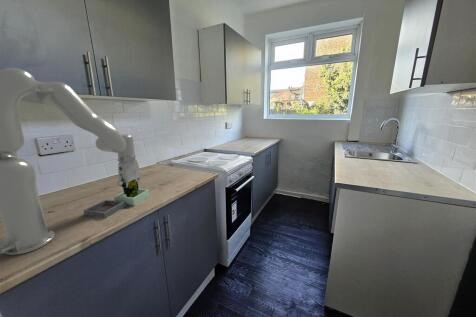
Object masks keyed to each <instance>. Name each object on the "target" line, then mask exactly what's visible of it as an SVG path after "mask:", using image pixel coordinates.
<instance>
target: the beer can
mask: <svg viewBox="0 0 476 317" xmlns="http://www.w3.org/2000/svg"><path fill="white" fill-rule="evenodd" d="M125 185H126V183H125ZM128 187H129V189H130V194H129V195H126V197H131V198H134V197H135V196H137V195H138V193H137V185H136V179H135V180H133V181H131V182H129V183H128Z"/></svg>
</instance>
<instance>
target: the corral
mask: <svg viewBox="0 0 476 317" xmlns="http://www.w3.org/2000/svg"><path fill="white" fill-rule="evenodd" d="M105 206H112V207H111V208H109V209H107V210H105V211H98V210H99V209H102V208H103V207H105ZM125 207H126V205H125V202H122V201H115V199H113V200H111V199H103V200H102V201H100V202H97V203H95V204H93V205H92V206H90V207H89V206H88V207H87V208H85V209H83V214H84V216H87V217H93V218H94V217H95V218H102V219H106V218H108V217H110V216H111V215H113V214H115V213H117V212H119V211H121V209H124V208H125Z"/></svg>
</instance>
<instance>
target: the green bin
mask: <svg viewBox="0 0 476 317" xmlns="http://www.w3.org/2000/svg"><path fill="white" fill-rule="evenodd" d="M138 189H139V190H137V193H138V195H137V196H135V197H134V198H131V197H126V194H124V191H122V192H120V193H118V194H116V195H114V196H113V200H114V201H122V202H125V206H133V207H135V206H136V205H138V204H140V203H141V202H143V201H145V200H147V199H148V198H150V196H151V195H150V190H149V189H145V188H144V189H143V188H138Z"/></svg>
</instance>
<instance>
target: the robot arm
mask: <svg viewBox="0 0 476 317" xmlns="http://www.w3.org/2000/svg"><path fill="white" fill-rule="evenodd" d="M22 101H23V102H28V103H32V104H33V103H34V104H38V105H39V104H40V105H44V106H55V108H57V109H58V110H59V111H60V112H61V113H62V114H63V115H64V116H65V117H66V118H67V119H68V120H69V121H70V122H72V123H73V124H74V126H76V127H79V129H82V130H85V131H87V132H89V133H91V134H93V135H95V136H96V137H98V138H96V140H95V147H96V148H97V149H98V150H100V151H102V152H106V153H108V152H109V153H116V154H117V158H118V159H117V162H118V164H117V172H118V180H117V184H116V185H119V186H120V187H121V188H122V189H123V192H124V194H126V195H129V194H130V189H129V187H128V183H129V182H131V181H133V180H135V179H136V185H137V190H139V189H140V188H139V182H140V181H139V180H140V178H141V176H142V174H141V170H140V166H139V162H138V160H137V159H136V152H135V144H134V137H133V135H132V134H121V133H120V132H119V131H118V130H117V129H116V128H115V127H114V126H113V125H112V124H110V123H109V122H107V121H106V120H105V119H103V118H102V117H101V116H99V115H98V114H96V113H95V111H93V110H92V109H91V108H90V106H88V104H87V103H86V102H85V101H84V100H83V99H82V98H81V97H80V96H79V95H78V94H77V93H76V91H75V90H74V89H73V88H72V87H71V86H70V85H68V84H67V83H65V82H62V81H51V82H50V81H49V82H44V81H39V80H36V79H35V77H34V76H33V75H32V74H31V73H30V72H28V71H26V70H24V69H21V68H17V67H7V68H3V69H0V217H1V221H2V225H3V227H4V231H5V233H6V238H5V239H3V242H2V243H1V244H0V254H1V255H3V254H5V255H9V256H17V255H23V254H27V253H30V252H33V251H35V250H37V249H40V248H43V247H44V246H47V244H49V243H51V242H52V241H53V239H54V238H55V236H56V233H55V232H54V231H53V230H48V226H47V223H46V218H45V214H44V211H43V210H44V209H43V207H42V202H41V199H40V195H39V192H38V186H37V177H36V176H37V174H36V171H35V169H34V167H33V165H32V164H31V163H30V162H28V161H27V160H26V159H23V158H21V157H19V155H18V151H19V150H21V149H22V148H23V146H24V144H25V137H24V134H23V130H22V125H21V120H20V115H19V113H20V112H19V104H20V102H22ZM125 183H126V185H125Z"/></svg>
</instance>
